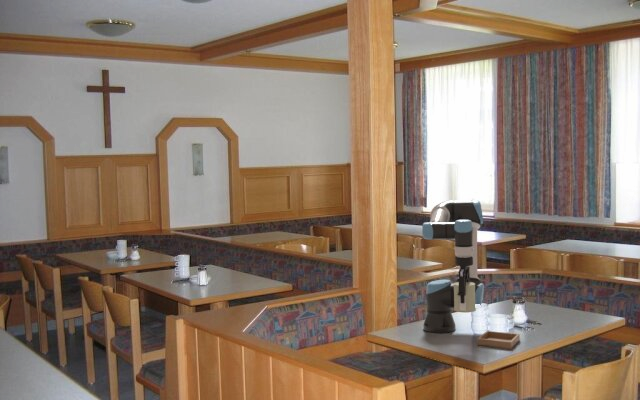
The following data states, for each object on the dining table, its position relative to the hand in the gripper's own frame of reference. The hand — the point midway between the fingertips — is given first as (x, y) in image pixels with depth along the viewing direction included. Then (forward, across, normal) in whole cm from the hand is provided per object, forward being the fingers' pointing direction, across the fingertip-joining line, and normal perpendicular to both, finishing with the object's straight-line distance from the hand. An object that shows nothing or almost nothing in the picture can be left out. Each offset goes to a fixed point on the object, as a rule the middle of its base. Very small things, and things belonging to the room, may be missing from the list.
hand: (464, 307), depth 301 cm
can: (+1, 0, 0) cm, 1 cm away
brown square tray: (+17, +10, -13) cm, 24 cm away
